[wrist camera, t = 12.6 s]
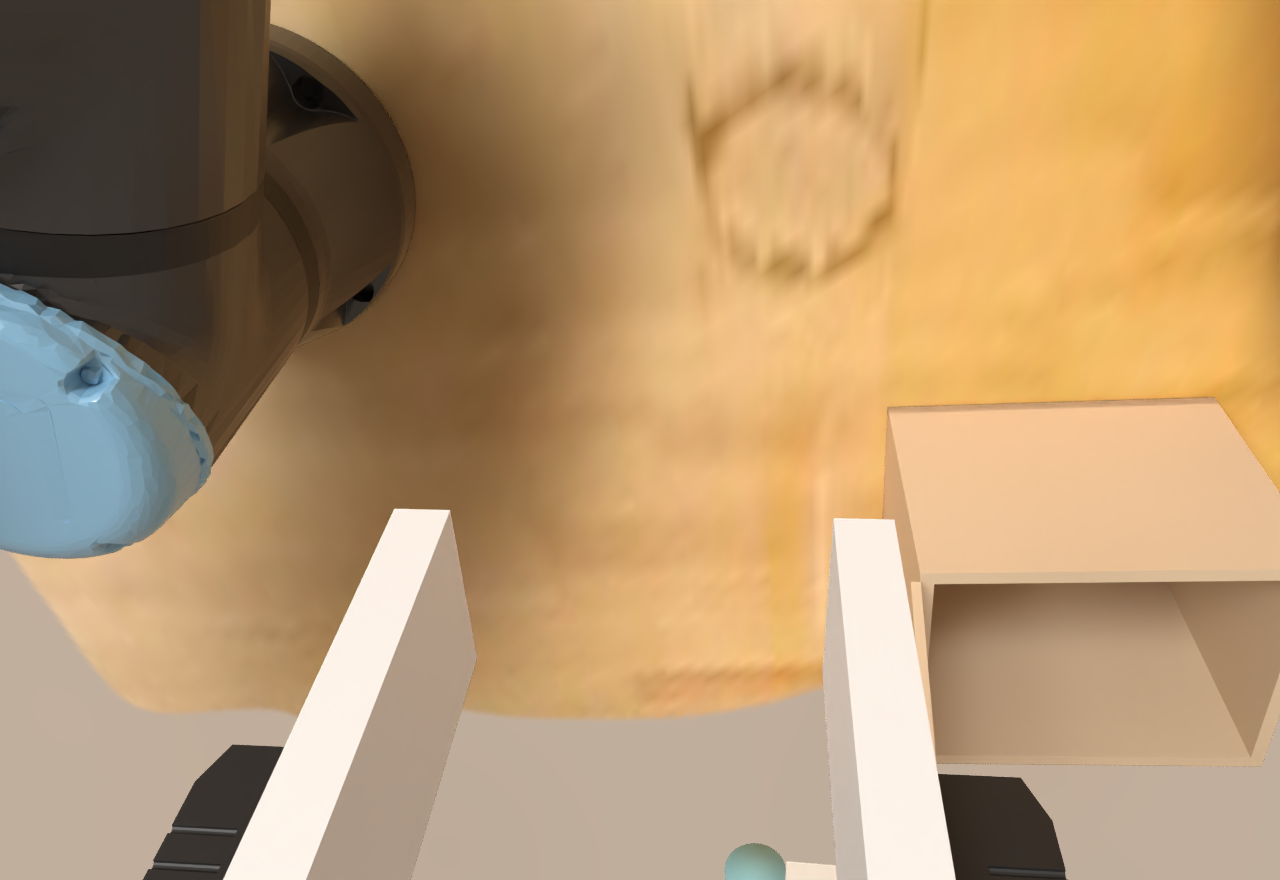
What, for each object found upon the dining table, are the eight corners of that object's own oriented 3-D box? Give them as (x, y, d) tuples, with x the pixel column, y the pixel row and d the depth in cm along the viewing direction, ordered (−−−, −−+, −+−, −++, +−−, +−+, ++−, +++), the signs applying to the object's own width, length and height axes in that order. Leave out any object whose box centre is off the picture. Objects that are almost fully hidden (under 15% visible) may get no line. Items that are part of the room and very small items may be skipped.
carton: (880, 581, 62) (907, 763, 51) (887, 407, 55) (920, 573, 44) (1170, 578, 60) (1261, 766, 49) (1214, 397, 53) (1331, 568, 42)
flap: (907, 765, 51) (760, 755, 52) (920, 581, 44) (752, 576, 45) (927, 1107, 38) (733, 1083, 40) (950, 920, 32) (717, 899, 33)
